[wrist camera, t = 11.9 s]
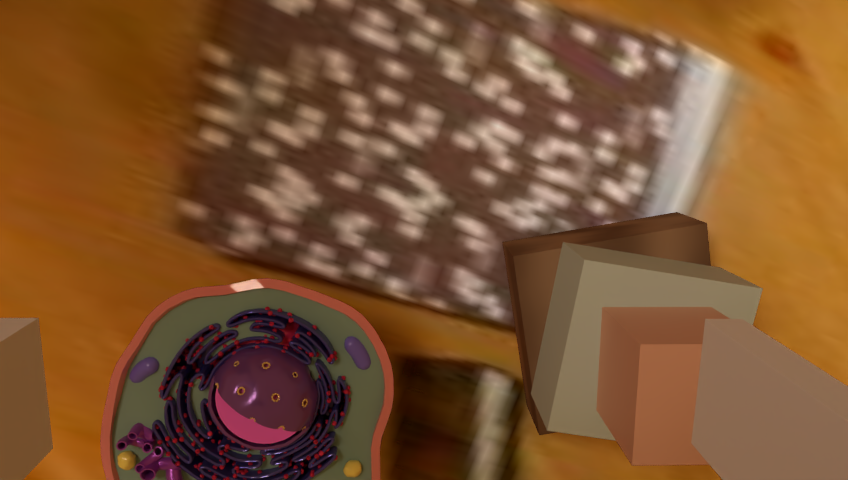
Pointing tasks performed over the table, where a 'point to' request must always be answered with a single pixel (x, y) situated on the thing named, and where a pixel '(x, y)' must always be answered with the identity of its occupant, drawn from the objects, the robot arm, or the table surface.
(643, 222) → the tower base
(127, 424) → the cell model
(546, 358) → the tower top
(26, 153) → the table surface
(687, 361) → the block
